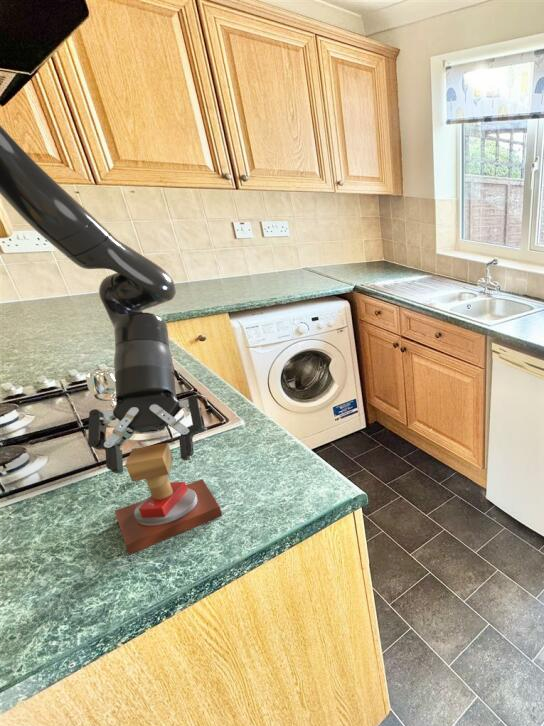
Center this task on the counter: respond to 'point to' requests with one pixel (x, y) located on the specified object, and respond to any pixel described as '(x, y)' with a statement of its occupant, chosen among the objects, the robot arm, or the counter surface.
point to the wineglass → (103, 388)
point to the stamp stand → (147, 536)
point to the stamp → (159, 486)
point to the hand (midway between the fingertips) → (152, 465)
